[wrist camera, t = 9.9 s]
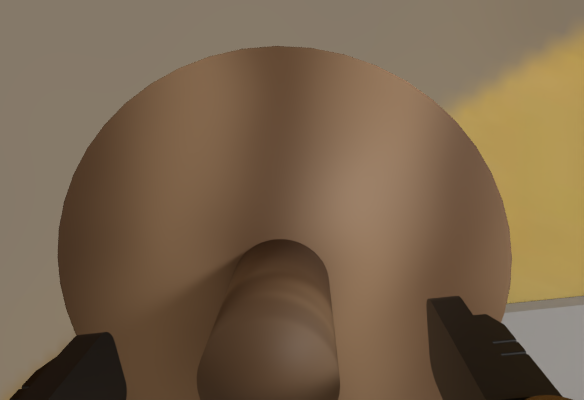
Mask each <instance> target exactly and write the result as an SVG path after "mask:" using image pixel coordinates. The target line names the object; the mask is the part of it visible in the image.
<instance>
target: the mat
mask: <svg viewBox="0 0 584 400" xmlns="http://www.w3.org/2000/svg"><path fill="white" fill-rule="evenodd" d="M501 323H502V324H504V325H505V326H506V327H507V328H508V330H509V331H510V332H511V333H512V334H513V336H514V337H515V338H516V341H517V342H519V343H520V344H521V346H522V347H523V348H524V349H525V351H526V354H529V356H530V357H531V358H532V359H533V361H534V362H535V363H536V364H537V365H538V367H539V368H540V369H541V370H542V372H543V373H544V374H545V375H546V377H547V378H548V379H549V380H550V382H551V383H552V384H553V385H554V387H555V388H556V389H557V390H558V391H559V393H560V394H561V395H562V396H563V397H565V398H569V399H572V400H584V296H579V297H569V298H560V299H550V300H541V301H531V302H521V303H512V304H506V308H505V313H504V316H503V318H502V321H501Z"/></svg>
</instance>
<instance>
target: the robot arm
mask: <svg viewBox="0 0 584 400" xmlns="http://www.w3.org/2000/svg"><path fill="white" fill-rule="evenodd" d="M426 310H427V326H428V341H429V356H430V363H431V368H432V372H433V376H434V379H435V382H436V385H437V387H438V389H439V392H440V394H441V396H442V399H443V400H572V399H569V398H565V397H563V396H562V395H561V394H560V393H559V391H558V390H557V389H556V388H555V387H554V385H553V384H552V383H551V382H550V380H549V379H548V378H547V377H546V375H545V374H544V373H543V372H542V370H541V369H540V368H539V367H538V365H537V364H536V363H535V362H534V361H533V359H532V358H531V357H530V356H529V354H526V351H525V349H524V348H523V347H522V346H521V344H520V343H519V342H517V341H516V338H515V337H514V336H513V334H512V333H511V332H510V331H509V330H508V328H507V327H506V326H505V325H504V324H502V323H501V322H499V321H497V320H496V319H494V318H492V317H491V316H489V315H487V314H480V315H473V314H472V313H471V311H470V310H469V308H468V307H467V305H466V304H465V303H464V301H463V300H462V298H461V297H460V296H449V297H440V298H430V299H427V303H426ZM126 397H127V386H126V381H125V377H124V374H123V370H122V366H121V363H120V359H119V355H118V352H117V348H116V344H115V341H114V338H113V336H112V335H111V334H110V333H109V332H101V333H91V334H82V335H77V336H76V337H74V338H73V340H72V341H71V342H70V343H69V344H68V345H67V346H66V347H65V348H64V349H63V351H62V352H61V353H60V354H59V355H58V356H57V357H56V358H54V359H53V360H51V361H50V362H48V363H47V364H45V365H44V366H43V367H41V368H40V369H38V370H37V371H36V372H35V373H34V374H33V375H32V376H31V377H30V378H29V379H28V380H27V381H26V382H25V383H24V384H23V385H22V389H19V390H18V391H17V392H16V393H15V394H14V395H13V396H12V397H11V398H10V400H126Z"/></svg>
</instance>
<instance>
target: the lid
mask: <svg viewBox="0 0 584 400" xmlns="http://www.w3.org/2000/svg"><path fill="white" fill-rule="evenodd" d="M511 263H512V254H511V243H510V231H509V226H508V221H507V217H506V213H505V209H504V205H503V201H502V198H501V196H500V193H499V191H498V188H497V186H496V183H495V181H494V178H493V176H492V173H491V171H490V170H489V168H488V166H487V165H486V163H485V161H484V159H483V158H482V156H481V154H480V153H479V151H478V149H477V147H476V146H475V145H474V143H473V142H472V141H471V140H470V138H469V137H468V136H467V135H466V133H465V132H464V131H463V130H462V128H461V127H460V126H459V125H458V123H457V122H456V121H455V120H454V119H453V118H452V117H451V116H450V115H449V114H448V113H446V112H445V111H444V110H443V109H442V108H441V107H440V106H439V105H438V104H437V103H436V102H435V101H434V100H432V99H431V98H430V97H428V96H427V95H425V94H424V93H422V92H421V91H420V90H418V89H417V88H415V87H414V86H412V85H411V84H410V83H408V82H407V81H405V80H403V79H401V78H399V77H397V76H396V75H393V74H392V73H390V72H388V71H386V70H383V69H381V68H380V67H378V66H376V65H373V64H370V63H367V62H364V61H361V60H358V59H355V58H353V57H349V56H347V55H344V54H339V53H334V52H329V51H323V50H318V49H313V48H302V47H284V46H272V47H260V48H248V49H240V50H236V51H231V52H227V53H223V54H218V55H214V56H210V57H207V58H204V59H202V60H199V61H197V62H194V63H191V64H189V65H186V66H184V67H181V68H179V69H177V70H175V71H173V72H171V73H170V74H168V75H166V76H164V77H162V78H161V79H159V80H157V81H155V82H153V83H152V84H150V85H149V86H147V87H146V88H145V89H144V90H142V91H141V92H140V93H139V94H137V95H136V96H134V97H133V98H132V99H131V100H129V101H128V102H126V104H124V105H123V106H122V107H121V108H120V109H119V111H118V112H117V113H116V114H115V115H114V116H113V117H112V118H111V119H110V120H109V121H108V122H107V123H106V124H105V125H104V126H103V128H102V129H101V130H100V132H99V133H98V135H97V136H96V137H95V139H94V140H93V141H92V143H91V144H90V146H89V147H88V148H87V150H86V152H85V154H84V156H83V158H82V160H81V162H80V163H79V165H78V167H77V169H76V171H75V173H74V175H73V178H72V181H71V184H70V186H69V189H68V192H67V195H66V198H65V201H64V206H63V211H62V216H61V221H60V226H59V240H58V265H59V275H60V284H61V288H62V293H63V297H64V301H65V305H66V309H67V312H68V315H69V317H70V320H71V323H72V325H73V328H74V331H75V333H76V335H82V334H91V333H101V332H109V333H110V334H111V335H112V336H113V338H114V341H115V344H116V348H117V352H118V355H119V359H120V363H121V366H122V370H123V374H124V377H125V381H126V386H127V397H126V400H443V399H442V396H441V394H440V392H439V389H438V387H437V385H436V382H435V379H434V376H433V372H432V368H431V363H430V356H429V341H428V326H427V310H426V303H427V299H430V298H440V297H449V296H460V297H461V298H462V300H463V301H464V303H465V304H466V305H467V307H468V308H469V310H470V311H471V313H472V314H473V315H480V314H487V315H489V316H491V317H492V318H494V319H496V320H497V321H499V322H501V321H502V318H503V316H504V313H505V308H506V303H507V299H508V294H509V289H510V280H511Z"/></svg>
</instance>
